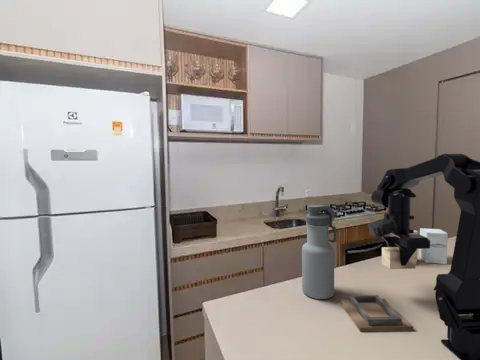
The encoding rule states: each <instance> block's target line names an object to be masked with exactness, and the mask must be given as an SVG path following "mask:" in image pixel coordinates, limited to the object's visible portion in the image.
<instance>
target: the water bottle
mask: <svg viewBox="0 0 480 360" xmlns="http://www.w3.org/2000/svg"><path fill="white" fill-rule="evenodd" d="M306 207H307V211H308V213H307V214H306V215H305V223H306V224H305V225H306V242H305V243H304V244H302V247H301V278H302V279H301V281H302V282H301V283H302V284H301V287H302V288H301V289H302V292H303V293H304V294H305V295H306V296H308V297H309V298H312V299H316V300H328V299H330V298H332V297H333V296H334V295H335V249H334V247H333V246H332V244H330V243H329V242H331V243H336V242H337V239H338V238H337V237H338V236H337V235H338V231H337V227H336V226H334V225H333V221H335V218H336V216H335V212H334V210H333V209H332V207H330V206H328V205H324V204H323V205H322V204H310V205H309V204H308V205H307V206H306ZM319 211H323V212H319ZM329 228H331V229H332V231H333V239H330V238H329Z"/></svg>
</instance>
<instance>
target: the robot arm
mask: <svg viewBox="0 0 480 360" xmlns="http://www.w3.org/2000/svg"><path fill="white" fill-rule="evenodd" d="M440 176H443V178H444V181H445V182H446V183H447V184H448V185H449V186H451V187H452V188H453V190H454V191H453V192H454V193H453V197H454V200H455V202H456V204H457V205H458V207H459V209H460V215H459V220H458V227H457V233H456V238H455V241H454V248H453V254H452V260H451V264H450V269H449V272H447V273H438V274H437V276H436V278H435V280H436V281H435V286H434V288H433V291H435V302H436V306H437V307H436V308H437V311H438V315H439V319H440V320H441V321H442V322H443V323H444V325H445V326H446V327H447V331H446V334H447V335H446V337H447V339H441V340H440V342H441V344H443V346H444V347H446V348H447V349H448V350H449V351H450V352H452V353H453V354H454V355H455V357H457V358H458V359H459V360H480V161H478V160H475V159H473V158H471V157H469V156H468V155H466V154H463V153H461V152H460V153H459V152H457V153H442V154H440V155H438V156H436V157H433V158H432V159H428V160H426V161H422V162H420V163H417V164H415V165H411V166H409V167H404V168H403V167H402V168H401V167H399V168H389V169H387V170H386V172H385V174H384V176H383V177H382V179H381V181H380V183H379V184H378V185H377V188H376V189H375V190H373V192H372V194H371V196H370V197H371V201H372V203H373V204H374V205H376V206H378V207H382V208H386V209H387V212H385V213H384V214H383V218H382V219H378V220H375V221H372V222H370V223H368V224H367V227H368V230H369V232H370V234H371V236H374V238H377V239H379V238H382V239H383V240H384V241H385V244H386V247H398V248H399V251H400V261H401V265H402V266H405V265H406V264H407V263H408V261H409V259H410V258H411V256H412V255H413V254H414V252H415V251H416V250H417V251H418V250H419V249H428V248H430V240H429V239H428V238H427V237H424V236H422V235H420V233H418V234H409V233H414V230H415V229H412V228H411V220H415V215H412V214H411V212H412V211H411V209H412V208H411V207H412V206H411V205H412V198H416V197H417V195H416V194H415V192H413V190H411V188H413V187H416V186H417V185H419V183H420V182H421V181H425V180H428V179H431V178H436V177H440Z"/></svg>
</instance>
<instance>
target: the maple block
mask: <svg viewBox="0 0 480 360" xmlns="http://www.w3.org/2000/svg"><path fill="white" fill-rule="evenodd" d="M381 264H382V265H384V266H385V267H386V268H387V269H389V270H406V269H408V270H409V269H411V270H412V269H416V268H417V263H416V252H414V254H413V255H412V256H411V258H410V259H409V261H408V263H407V264H406V265H405V266H402V265H401V261H400V251H399V248H398V247H388V246H382V247H381Z"/></svg>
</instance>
